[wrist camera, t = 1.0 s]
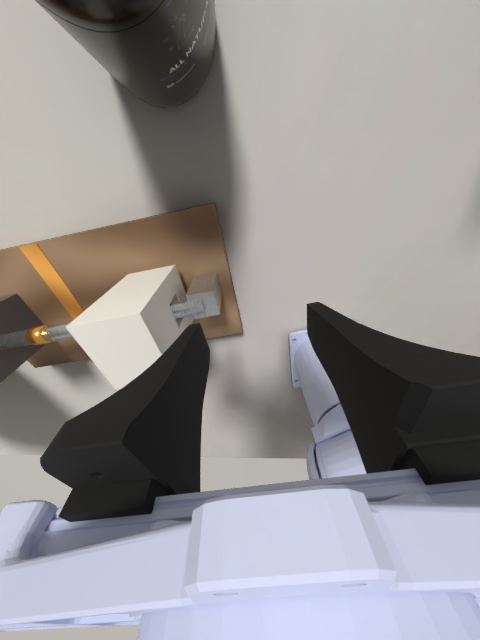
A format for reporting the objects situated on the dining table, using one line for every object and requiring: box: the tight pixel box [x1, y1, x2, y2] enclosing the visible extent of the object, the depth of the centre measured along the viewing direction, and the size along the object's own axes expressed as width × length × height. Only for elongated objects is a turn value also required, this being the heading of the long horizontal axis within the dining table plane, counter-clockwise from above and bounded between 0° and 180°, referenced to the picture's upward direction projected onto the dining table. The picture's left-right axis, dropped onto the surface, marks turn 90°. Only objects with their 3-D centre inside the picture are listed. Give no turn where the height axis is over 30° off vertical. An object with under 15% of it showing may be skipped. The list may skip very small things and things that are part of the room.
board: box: [0, 202, 242, 368], centre depth 20 cm, size 12×24×2 cm, turn 101°
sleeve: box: [66, 265, 194, 390], centre depth 15 cm, size 5×4×8 cm
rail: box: [0, 271, 222, 350], centre depth 17 cm, size 2×20×5 cm, turn 101°
